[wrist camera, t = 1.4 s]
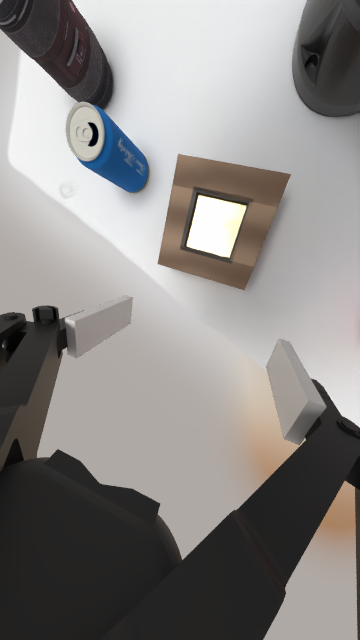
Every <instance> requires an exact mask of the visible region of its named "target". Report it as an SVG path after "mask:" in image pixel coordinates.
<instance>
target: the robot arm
mask: <svg viewBox="0 0 360 640" xmlns="http://www.w3.org/2000/svg"><path fill="white" fill-rule="evenodd" d="M293 77H294V82H295V86H296V88H297V91H298V93H299V95H300V97H301V99H302V100H303V101H304V103H305V104H306V105H307V106H308V107H310V108H311V109H312V110H314V111H316V112H318V113H320V114H324V115H328V116H345V115H350V114H354V113H357V112H360V0H307V2H306V5H305V7H304V10H303V14H302V17H301V21H300V25H299V28H298V32H297V36H296V40H295V45H294V51H293ZM132 298H133V297H129V296H126V295H125V296H122V297H120V298H117V299H114V300H112V301H109V302H106V303H104V304H101V305H98V306H95V307H93V308H90V309H87V310H84V311H81V312H78V313H75V314H73V315H70V316H67V317H65V318H62V319H59V313H58V308H57V307H54V306H39V307H35V308H33V309H32V311H33V317H34V322H29V321H26V318H25V315H24V314H22V313H15V312H12V313H7V314H2V315H0V640H263V639H264V637H265V635H266V633H267V631H268V629H269V628H270V626H271V624H272V622H273V620H274V618H275V617H276V615H277V613H278V611H279V609H280V607H281V605H282V603H283V601H284V598H285V594H286V591H285V587H286V584H287V582H288V580H289V578H290V577H291V575H292V573H293V571H294V569H295V568H296V566H297V564H298V562H299V561H300V559H301V557H302V555H303V554H304V552H305V550H306V548H307V546H308V545H309V543H310V541H311V539H312V538H313V536H314V534H315V532H316V530H317V529H318V527H319V525H320V523H321V521H322V520H323V518H324V516H325V514H326V513H327V511H328V509H329V507H330V506H331V504H332V502H333V500H334V499H335V497H336V495H337V493H338V491H339V490H340V488H341V486H342V484H343V482H344V481H347V482H348V483H350V484H351V485H353V486H354V487H355V508H356V509H355V511H356V563H357V565H356V567H357V568H356V569H357V623H358V624H357V625H358V640H360V428H359V427H358V426H357V425H356V424H354V423H353V422H352V421H350V420H348V419H347V418H345V417H342V416H341V414H340V413H339V411H338V409H337V408H336V406H335V405H334V403H333V402H332V400H331V398H330V397H329V395H327V392H326V391H325V389H324V387H323V386H322V385H321V384H320V383H318V382H317V381H316V380H314V379H311V378H310V377H309V375H308V373H307V372H306V370H305V368H304V366H303V365H302V363H301V361H300V359H299V358H298V356H297V354H296V353H295V351H294V349H293V347H292V346H291V344H290V342H289V341H285V340H282V339H279V340H278V342H277V344H276V346H275V348H274V351H273V353H272V355H271V357H270V359H269V361H268V363H267V366H266V368H267V372H268V376H269V380H270V384H271V389H272V392H273V397H274V401H275V405H276V409H277V413H278V417H279V421H280V426H281V430H282V434H283V438H284V439H285V440H288V441H291V442H293V443H296V444H299V445H300V444H301V442H302V441H303V439H304V438H306V441H305V442H304V443H303V444H302V445H301V446H300V447H299V448H298V449H297V450H296V451H295V452H294V453H293V454H292V455H291V456H290V457H289V458H288V459H287V460H286V461H285V462H284V463H283V464H282V465H281V466H280V467H279V468H278V469H277V470H276V471H275V472H274V473H273V474H272V475H271V476H270V477H269V478H268V479H267V480H266V481H265V482H264V483H263V484H262V485H261V486H260V487H259V488H258V490H256V491H255V492H254V493H253V494H252V495H251V496H250V497H249V498H248V500H247V501H245V502H244V503H243V504H242V505H241V506H240V507H239V509H237V510H234V511H232V512H231V513H230V514H229V515H228V516H227V517H226V518H225V519H224V520H223V521H222V522H221V523H220V524H219V525H218V526H217V527H216V528H215V529H214V530H213V531H212V532H211V533H210V534H209V535H208V536H207V537H206V538H205V539H204V540H203V541H202V542H201V543H200V544H199V545H198V546H197V547H196V548H195V549H194V550H193V551H191V552H190V554H188V555H187V556H186V558H184V559H183V560H182V558H181V555H180V552H179V549H178V546H177V544H176V541H175V539H174V537H173V535H172V533H171V531H170V529H169V528H168V526H167V525H166V524H165V522H164V521H163V520H162V518H161V517H160V516H159V515H158V510H159V507H160V503H158V502H156V501H154V500H152V499H150V498H149V497H147V496H145V495H143V494H141V493H139V492H137V491H135V490H134V489H130V488H123V487H116V486H109V485H102V484H100V483H99V482H98V481H97V480H96V479H95V478H94V477H93V476H92V474H91V473H90V472H89V471H88V470H87V468H86V467H85V466H84V465H83V464H82V463H81V461H79V460H77V459H75V458H73V457H71V456H70V455H68V454H66V453H64V452H62V451H60V450H56V452H55V453H54V454H53V455H52V456H51V457H50V458H49V457H47V458H46V457H45V458H37V450H38V447H39V443H40V439H41V435H42V431H43V427H44V424H45V420H46V416H47V412H48V408H49V405H50V400H51V397H52V393H53V389H54V386H55V382H56V378H57V374H58V370H59V366H60V363H61V359H62V355H63V353H62V350H63V349H65V348H66V347H67V351H68V355H70V356H73V357H75V358H78V357H79V356H81V355H83V354H84V353H86V352H87V351H89V350H90V349H92V348H93V347H95V346H96V345H98V344H100V343H101V342H103V341H104V340H106V339H107V338H109V337H110V336H112V335H114V334H115V333H116V332H118V331H120V330H121V329H123V328H124V327H126V326H127V325H129V324H130V323H131V312H132ZM2 344H3V345H4V347H3V348H2Z"/></svg>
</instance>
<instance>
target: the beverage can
mask: <svg viewBox="0 0 360 640" xmlns="http://www.w3.org/2000/svg"><path fill="white" fill-rule="evenodd" d="M66 137H67V142H68V144H69V147H70V149H71V151H72V152H73V154H74V155H75V156H76V157H77V158H78V160H79V161H80V162H81V163H82V164H83V165H84V166H85V167H87V168H88V169H90V170H92V171H93V172H95V173H97V174H99V175H100V176H102V177H104V178H105V179H107V180H109V181H110V182H112V183H114V184H116V185H117V186H119V187H121V188H122V189H124V190H126V191H128V192H137V191H139V190H140V189H141V188H142V187H143V186H144V184H145V182H146V180H147V177H148V164H147V161H146V158H145V156H144V155H143V154H142V152H141V151H140V150H139V149H138V148H137V147H136V146H135V145H134V144H133V143H132V141H131V140H130V139H129V138H128V137H127V136H126V135H125V134H124V133H123V132H122V131H121V129H120V128H119V127H118V126H117V125H116V124H115V123H114V122H113V121H112V120H111V119H110V118H109V116H108V115H107V114H106V113H105V112H104V111H103V110H102V109H101V108H99V107H98V106H95V105H91V104H90V103H87V102H79V103H77V104H75V105H74V106H73V107H72V109H71V110H70V112H69V114H68V117H67V121H66Z"/></svg>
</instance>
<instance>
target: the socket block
mask: <svg viewBox="0 0 360 640" xmlns="http://www.w3.org/2000/svg"><path fill="white" fill-rule="evenodd" d="M290 175H291V174H286V173H281V172H275V171H270V170H264V169H259V168H253V167H247V166H242V165H236V164H231V163H225V162H220V161H214V160H208V159H203V158H197V157H192V156H186V155H181V154H178V159H177V164H176V169H175V175H174V180H173V185H172V191H171V196H170V201H169V207H168V212H167V217H166V223H165V228H164V233H163V239H162V244H161V249H160V255H159V260H158V264H160V265H163V266H166V267H170V268H173V269H176V270H180V271H183V272H186V273H190V274H193V275H196V276H200V277H203V278H206V279H209V280H213V281H216V282H219V283H223V284H226V285H229V286H233V287H236V288H239V289H243V290H245V287H246V285H247V283H248V280H249V278H250V275H251V273H252V270H253V268H254V265H255V263H256V260H257V258H258V255H259V253H260V250H261V248H262V245H263V243H264V240H265V238H266V235H267V233H268V230H269V228H270V225H271V223H272V220H273V218H274V215H275V213H276V210H277V208H278V205H279V203H280V200H281V198H282V195H283V193H284V190H285V188H286V185H287V183H288V180H289V178H290ZM198 195H201V196H205V197H210V198H215V199H219V200H224V201H228V202H233V203H237V204H242V205H247V207H246V210H245V214H244V217H243V220H242V223H241V226H240V229H239V232H238V235H237V238H236V240H235V243H234V246H233V249H232V252H231V255H230V258H225V257H222V256H218V255H214V254H211V253H207V252H203V251H200V250H196V249H192V248H191V247H188V246H186V245H187V241H188V237H189V233H190V228H191V224H192V220H193V216H194V212H195V208H196V203H197V199H198Z"/></svg>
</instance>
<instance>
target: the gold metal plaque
mask: <svg viewBox="0 0 360 640" xmlns="http://www.w3.org/2000/svg"><path fill="white" fill-rule="evenodd" d="M246 207H247V205H242V204H237V203H233V202H228V201H224V200H219V199H215V198H210V197H205V196H201V195H198V199H197V203H196V208H195V212H194V216H193V220H192V224H191V228H190V233H189V237H188V241H187V245H186V246H188V247H191V248H195V249H199V250H202V251H206V252H210V253H213V254H217V255H221V256H224V257H228V258H229V257H230V254H231V251H232V248H233V245H234V243H235V240H236V237H237V234H238V231H239V228H240V225H241V222H242V219H243V216H244V213H245V210H246Z"/></svg>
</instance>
